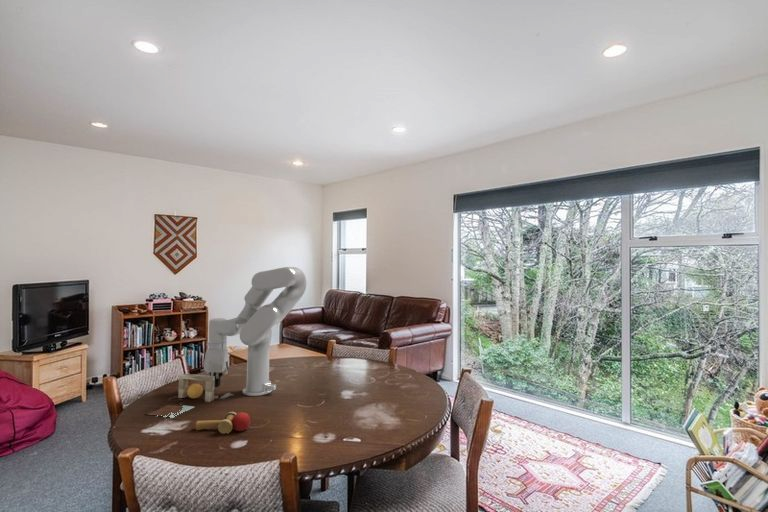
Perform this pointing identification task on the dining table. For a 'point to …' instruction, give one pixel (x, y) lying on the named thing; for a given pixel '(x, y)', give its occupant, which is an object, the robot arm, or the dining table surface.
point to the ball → (194, 390)
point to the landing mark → (185, 408)
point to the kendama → (227, 423)
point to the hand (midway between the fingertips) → (216, 386)
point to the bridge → (184, 379)
